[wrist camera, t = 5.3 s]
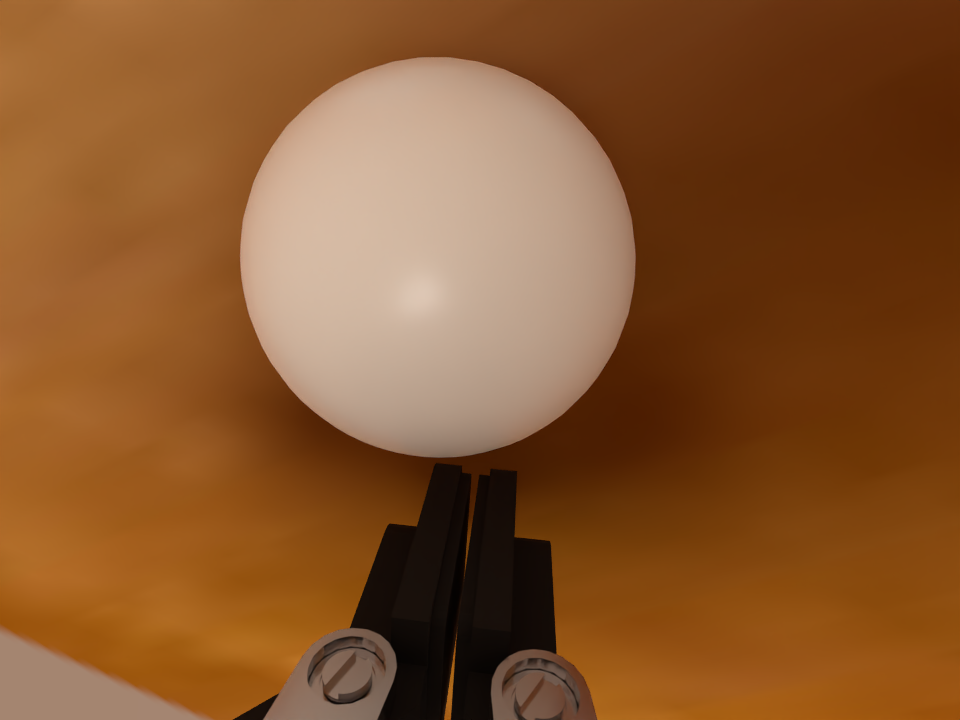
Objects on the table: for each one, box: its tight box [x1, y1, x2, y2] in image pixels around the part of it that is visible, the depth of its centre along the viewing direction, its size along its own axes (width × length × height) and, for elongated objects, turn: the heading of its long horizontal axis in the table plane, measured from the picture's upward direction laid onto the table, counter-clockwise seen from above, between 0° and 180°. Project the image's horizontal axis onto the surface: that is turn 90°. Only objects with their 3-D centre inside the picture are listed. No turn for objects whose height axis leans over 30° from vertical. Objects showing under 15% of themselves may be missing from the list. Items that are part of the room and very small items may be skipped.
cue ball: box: [240, 57, 636, 458], centre depth 8 cm, size 6×6×6 cm
